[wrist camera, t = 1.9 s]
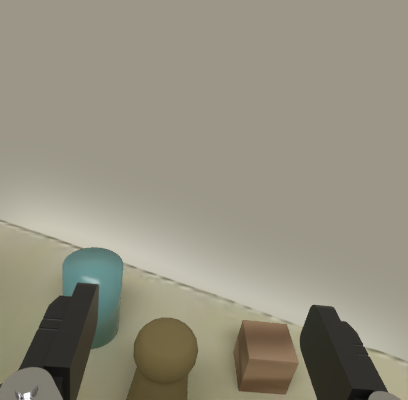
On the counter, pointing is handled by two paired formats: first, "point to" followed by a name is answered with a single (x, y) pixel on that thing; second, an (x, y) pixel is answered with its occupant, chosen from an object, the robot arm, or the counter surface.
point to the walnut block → (264, 357)
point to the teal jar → (108, 286)
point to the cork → (163, 360)
